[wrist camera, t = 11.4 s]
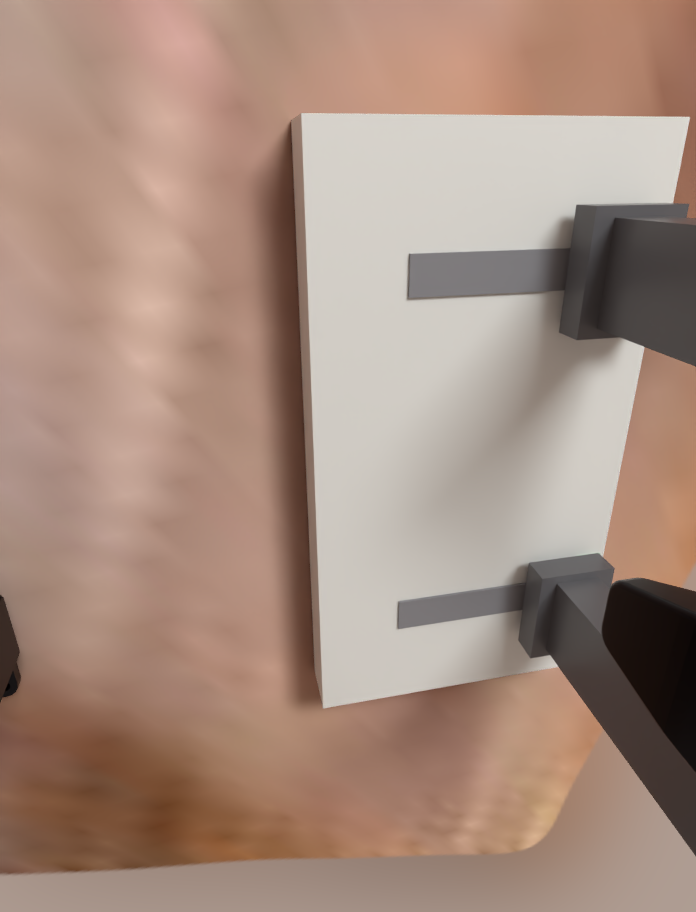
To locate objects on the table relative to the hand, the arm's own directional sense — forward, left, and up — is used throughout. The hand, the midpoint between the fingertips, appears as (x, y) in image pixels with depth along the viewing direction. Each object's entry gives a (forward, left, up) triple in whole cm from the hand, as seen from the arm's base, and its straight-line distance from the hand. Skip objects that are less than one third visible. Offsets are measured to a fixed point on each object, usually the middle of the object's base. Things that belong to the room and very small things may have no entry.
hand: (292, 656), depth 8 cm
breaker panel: (+7, -3, -13) cm, 15 cm away
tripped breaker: (+11, -9, -11) cm, 18 cm away
